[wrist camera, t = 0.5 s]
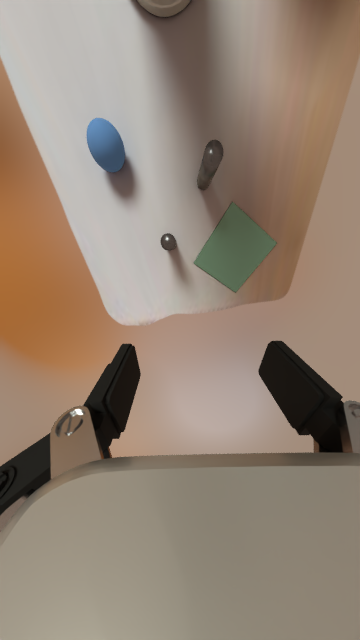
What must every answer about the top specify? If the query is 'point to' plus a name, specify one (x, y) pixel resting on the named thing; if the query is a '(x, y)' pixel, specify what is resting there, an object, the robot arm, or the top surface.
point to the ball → (105, 145)
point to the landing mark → (234, 249)
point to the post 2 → (209, 163)
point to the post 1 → (168, 242)
